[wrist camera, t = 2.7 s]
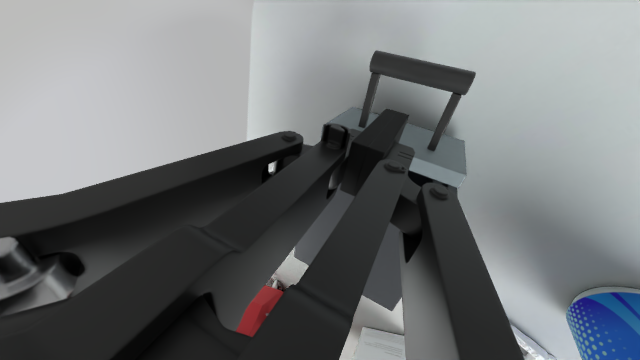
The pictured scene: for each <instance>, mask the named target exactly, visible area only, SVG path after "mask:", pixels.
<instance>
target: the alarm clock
mask: <svg viewBox="0 0 640 360" xmlns="http://www.w3.org/2000/svg"><path fill="white" fill-rule="evenodd" d="M277 286H278V281H277V280H275V281H274V283H273V285H272V287H269V286H266V285H264V286H263V288H262V289H261V290H260V291H259V293H258V294H257V295H256V297H255V298H254V299H253V300H252V302H251V303H250V304H249V306H248V307H247V309H246V311H245V312H244V315H243V317H242V320H241V322H240V324H239V326H238V328H237V330H236V332H239V333H242V334H245V335H248V336H251V337H253V336H254V334H255V333H256V331H257V330H258V329H259V327H260V326H261V324H262V323H263V321H264V320H265V319H266V317H267V316H268V314H269V313H270V311H271V310H272V308H273V307H274V306H275V304H276V303H277V301H278V300H279V298H280V297H281V296H282V294H283V293H284V292H283V291H281V290H278V289H277Z"/></svg>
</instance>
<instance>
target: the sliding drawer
mask: <svg viewBox="0 0 640 360" xmlns="http://www.w3.org/2000/svg"><path fill="white" fill-rule="evenodd" d="M370 72H373V73H372V75H371V79H370V82H369V86H368V90H367V94H366V98H365V102H364V106H363V110H362V109H358V108H355V107H352V108H350V109H349V110H347V111H345V112H344V113H342V114H341V115H339V116H338V117H336V118H334V119H333V120H331V121H330V122H328V123H335V124H340V125H343V126H346V127H348V128H349V129H352V128H353V129H356V130H359V131H363V130H364V129H365V128H366V127H368V126H369V125H370V124H371V123H372V122H373V121H374V120H375V119H376V118H377V117H378V116H379V115H378V114H375V113H372V112H370V111H371V108H372V104H373V101H374V97H375V93H376V90H377V86H378V83H379V79H380V75H385V76H389V77H393V78H397V79H401V80H405V81H409V82H413V83H417V84H421V85H425V86H429V87H433V88H437V89H441V90H445V91H449V92H453V93H452V95H451V97H450V99H449V102H448V104H447V106H446V108H445V110H444V112H443V115H442V117H441V119H440V121H439V123H438V125H437V127H436V130H435V132H434V131H431V130H427V129H424V128H421V127H418V126H414V125H411V124H408V123H406V125H405V128H404V130H403V133H402V135H401V138H400V141H399V143H400V144H403V145H406V146H409V147H412V148H413V149H414V151H415V155H414V157H413V160H412V163H411V165H410V168H409V170H408V177H409V178H410V180H411V181H413V182H414V183H415V184H417V185H418V186H420V187H422V185H424V184H425V183H435V184H439V185H442V182H443V183H446V184H448V185H451V186H454V187H457V188H459V187H460V185H461V184H462V182H463V180H464V179H465V177H466V157H465V141H464V140H460V139H457V138H454V137H450V136H447V135H444V134H443V133H444V131H445V129H446V127H447V125H448V123H449V121H450V119H451V117H452V115H453V112H454V110H455V108H456V106H457V104H458V102H459V100H460V98H461V95H466V93H467V92H468V90H469V88H470V86H471V84H472V82H473V80H474V78H475V75H476V72H472V71H468V70H463V69H459V68H454V67H450V66H445V65H441V64H436V63H431V62H427V61H422V60H418V59H413V58H409V57H404V56H400V55H395V54H390V53H386V52H381V51H375V52H374V54H373V56H372V59H371V62H370ZM323 126H324V125H323ZM322 132H323V129H322ZM321 138H322V135H321Z"/></svg>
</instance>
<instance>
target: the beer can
mask: <svg viewBox="0 0 640 360" xmlns="http://www.w3.org/2000/svg"><path fill="white" fill-rule="evenodd" d="M566 319H567V322H568V324H569V327H570V330H571V332H572V335H573V337H574V340H575V343H576V345H577V348H578V350H579V353H580V356H581V358H582V360H640V290H639V289H634V288H628V287H599V288H594V289H590V290H587V291H585V292H582V293H581V294H579V295H578V296H576V298H575V299H574V300H573V302H572V304H571V305H570V306H569V307H568V309H567V312H566Z"/></svg>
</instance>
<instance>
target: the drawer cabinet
mask: <svg viewBox="0 0 640 360" xmlns="http://www.w3.org/2000/svg"><path fill="white" fill-rule="evenodd" d="M442 185H443V186H445V187H447V188H448V189H449V190H451V191H452V192H453V193H454V194H455V195H456V197H457V187H454V186H451V185H448V184H446V183H443V182H442ZM340 186H341V183H340V184H339V186H338V188H337V192H336V195H335V196H334V197H333V199H332V200H331V201H330V202H329V204H328V205H327V206H326V208H325V209H324V210H323V211H322V213H321V214H320V215H319V216H318V218H317V219H316V220H315V222H314V223H313V224H312V225H311V227H310V228H309V229H308V230H307V232H306V233H305V234H304V236H303V237H302V238H301V239H300V241H299V242H298V243H297V244H296V246H295V252H294V257H295V258H297V259H299V260H300V261H302V262H304V263H306V264H308V265H309V266H310V264H311V263H312V261H313V260H314V258H315V257H316V255H317V254H318V252H319V251H320V249H321V248H322V246H323V245H324V243H325V242H326V240H327V239H328V237H329V236H330V234H331V233H332V231H333V230H334V228H335V227H336V225H337V224H338V222H339V220H340V219H341V217H342V216H343V214H344V213H345V211H346V210H347V208H348V207H349V205H350V204H351V202H352V201H353V199H354V198H355V196H352V195H350V194H348V193H345V192H343V191H341V190H340ZM399 231H400V230H399V229H398V228H397V227H395V226H394V225H393V224H391V223H390V222H389V225H388V227H387V230H386V233H385V235H384V238H383V240H382V243H381V246H380V248H379V251H378V254H377V256H376V259H375V261H374V264H373V267H372V269H371V272H370V274H369V277H368V280H367V282H366V285H365V288H364V290H363V293H362V295H363V296H365V297H367V298H369V299H371V300H372V301H374V302H376V303H378V304H379V305H381V306H383V307H385V308H387V309H388V310H390V311H393V309H394V308H395V306H396V305H397V303H398V302H399V300H400V299H401V297H402V287H401V269H400V252H399Z"/></svg>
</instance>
